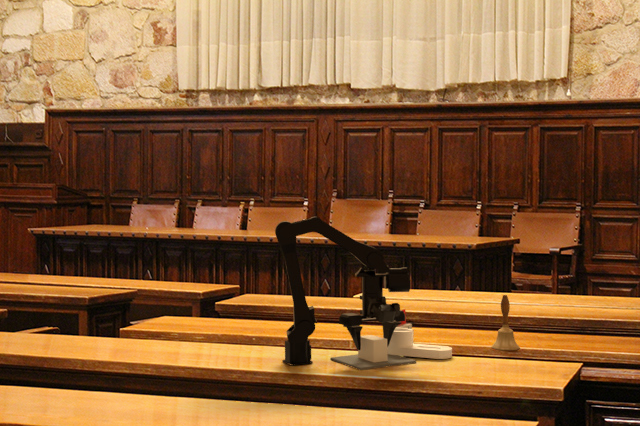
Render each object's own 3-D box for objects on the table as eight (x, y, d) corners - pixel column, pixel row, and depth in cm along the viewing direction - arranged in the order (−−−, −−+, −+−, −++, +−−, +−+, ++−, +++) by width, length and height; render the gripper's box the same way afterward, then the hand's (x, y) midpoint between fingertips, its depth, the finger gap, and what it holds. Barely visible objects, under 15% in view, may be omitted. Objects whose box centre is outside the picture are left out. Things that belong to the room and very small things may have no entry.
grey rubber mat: (360, 370, 215) (360, 367, 215) (330, 359, 229) (330, 357, 229) (416, 362, 224) (416, 360, 224) (383, 353, 238) (383, 351, 238)
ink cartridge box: (412, 339, 260) (411, 309, 260) (395, 345, 251) (395, 313, 251) (405, 339, 262) (405, 308, 262) (388, 344, 252) (388, 313, 252)
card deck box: (358, 357, 229) (358, 336, 229) (371, 355, 231) (371, 334, 231) (373, 362, 222) (373, 340, 222) (387, 360, 224) (387, 339, 224)
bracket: (379, 353, 233) (379, 330, 233) (387, 349, 241) (387, 326, 241) (448, 359, 227) (449, 335, 227) (454, 354, 235) (454, 331, 235)
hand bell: (520, 350, 240) (520, 297, 240) (491, 350, 242) (491, 296, 241) (519, 345, 248) (519, 293, 248) (491, 345, 250) (491, 293, 249)
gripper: (359, 297, 214) (359, 356, 215) (416, 293, 224) (417, 349, 224) (337, 293, 224) (338, 350, 224) (393, 289, 233) (394, 343, 234)
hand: (372, 348), depth 226 cm, fingers open, 9 cm apart
